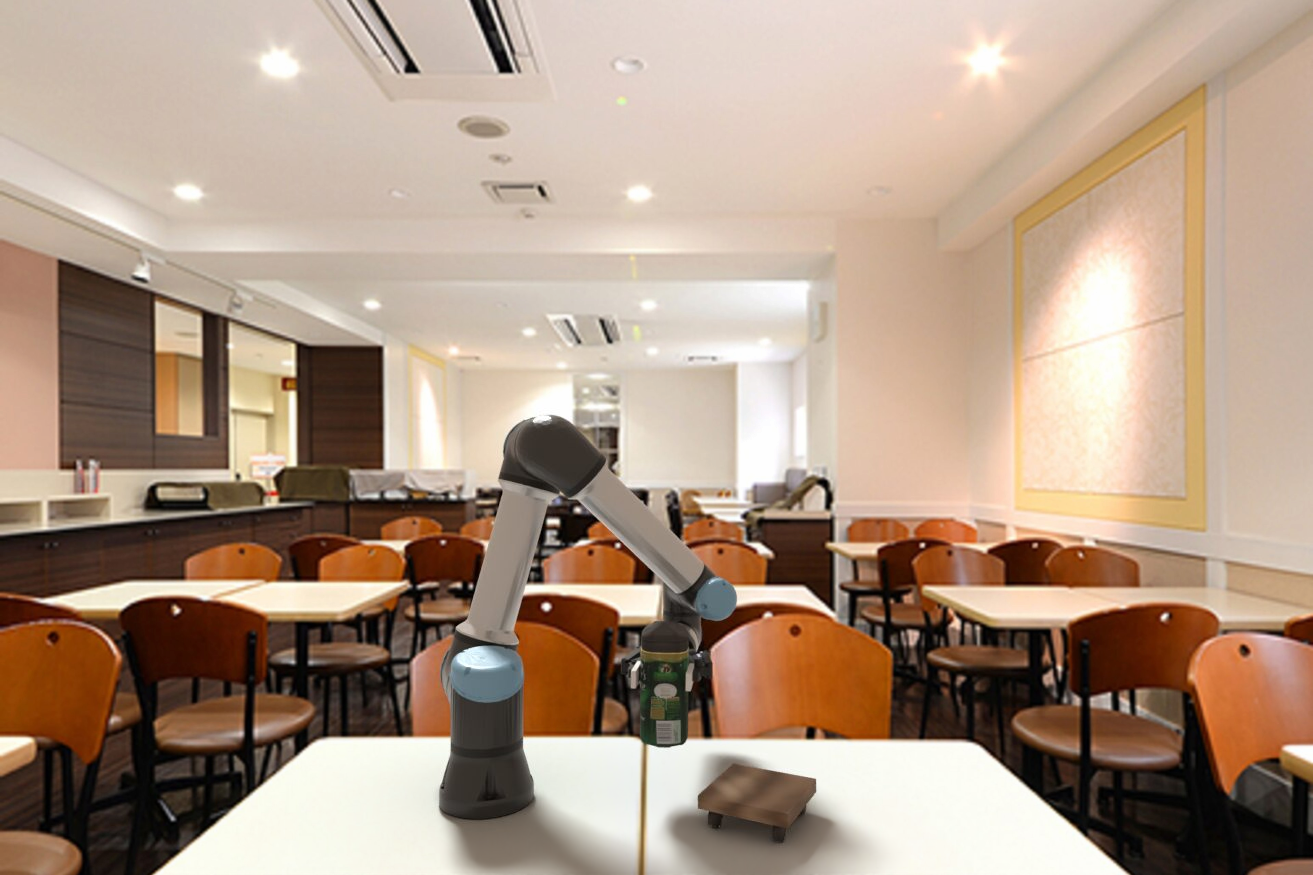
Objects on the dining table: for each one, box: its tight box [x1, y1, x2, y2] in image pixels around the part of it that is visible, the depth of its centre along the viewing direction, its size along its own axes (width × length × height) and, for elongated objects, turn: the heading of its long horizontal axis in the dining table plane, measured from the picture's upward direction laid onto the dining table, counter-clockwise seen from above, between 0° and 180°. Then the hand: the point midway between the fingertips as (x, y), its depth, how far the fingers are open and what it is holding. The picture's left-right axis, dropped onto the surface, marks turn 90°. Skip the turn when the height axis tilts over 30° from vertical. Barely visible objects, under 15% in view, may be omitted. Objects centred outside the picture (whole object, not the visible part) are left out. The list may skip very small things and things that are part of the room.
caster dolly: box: [697, 763, 817, 843], centre depth 121 cm, size 14×14×5 cm
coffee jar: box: [639, 620, 689, 749], centre depth 128 cm, size 10×8×19 cm
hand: (660, 680), depth 124 cm, fingers closed on coffee jar, 8 cm apart
